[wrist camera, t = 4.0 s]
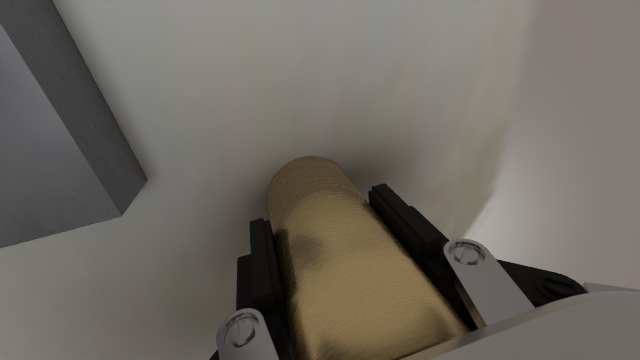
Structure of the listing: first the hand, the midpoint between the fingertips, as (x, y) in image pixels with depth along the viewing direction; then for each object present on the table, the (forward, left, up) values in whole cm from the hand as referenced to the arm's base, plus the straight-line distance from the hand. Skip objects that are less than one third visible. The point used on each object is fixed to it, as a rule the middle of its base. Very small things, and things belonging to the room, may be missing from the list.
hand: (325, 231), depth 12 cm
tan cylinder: (0, 0, -3) cm, 3 cm away
